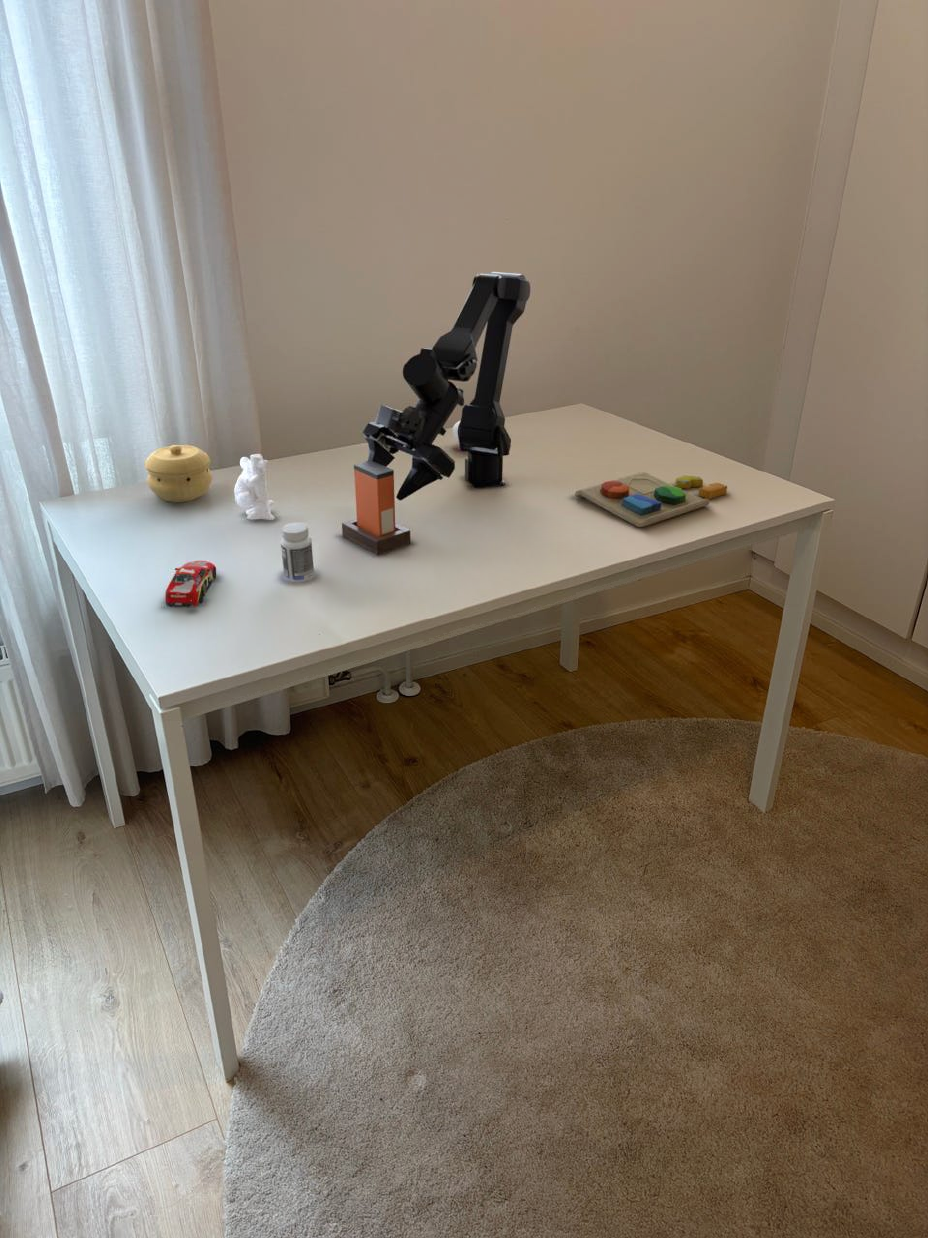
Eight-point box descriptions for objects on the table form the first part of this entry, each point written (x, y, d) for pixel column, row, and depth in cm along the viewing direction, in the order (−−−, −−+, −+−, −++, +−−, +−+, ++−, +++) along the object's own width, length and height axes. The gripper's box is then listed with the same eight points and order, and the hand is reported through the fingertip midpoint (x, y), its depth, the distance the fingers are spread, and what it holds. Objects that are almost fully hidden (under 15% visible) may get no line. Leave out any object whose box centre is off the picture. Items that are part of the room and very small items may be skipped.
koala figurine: (286, 519, 170) (280, 454, 164) (251, 528, 167) (244, 462, 161) (265, 504, 176) (259, 441, 170) (231, 512, 173) (223, 449, 167)
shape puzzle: (645, 531, 166) (647, 513, 165) (571, 498, 180) (572, 481, 178) (740, 498, 180) (742, 481, 178) (664, 470, 193) (666, 454, 191)
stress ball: (486, 463, 206) (499, 434, 205) (465, 450, 199) (478, 420, 199) (461, 453, 210) (474, 425, 210) (439, 440, 204) (453, 411, 203)
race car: (187, 571, 152) (184, 549, 150) (221, 572, 152) (218, 549, 150) (160, 611, 140) (156, 587, 138) (196, 612, 140) (193, 588, 138)
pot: (202, 481, 187) (195, 431, 182) (224, 500, 178) (217, 448, 173) (141, 493, 181) (133, 442, 176) (161, 513, 172) (153, 460, 167)
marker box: (373, 528, 166) (370, 459, 160) (396, 540, 161) (394, 470, 155) (357, 534, 164) (353, 464, 158) (380, 546, 160) (377, 475, 153)
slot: (375, 525, 168) (374, 512, 167) (410, 543, 162) (410, 530, 160) (342, 536, 164) (341, 522, 163) (377, 555, 158) (376, 541, 156)
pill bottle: (319, 572, 152) (315, 523, 148) (305, 585, 148) (301, 535, 144) (292, 568, 153) (288, 519, 149) (278, 580, 149) (273, 531, 145)
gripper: (368, 374, 161) (318, 451, 160) (440, 398, 148) (386, 482, 147) (407, 410, 169) (359, 484, 168) (477, 436, 157) (427, 516, 156)
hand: (381, 491), depth 160 cm, fingers open, 9 cm apart
